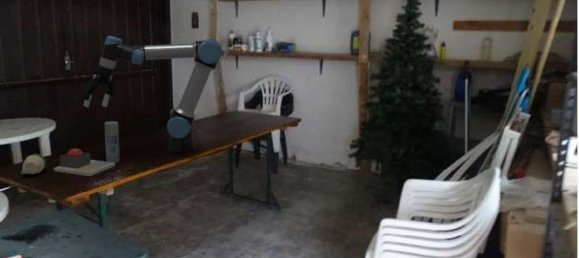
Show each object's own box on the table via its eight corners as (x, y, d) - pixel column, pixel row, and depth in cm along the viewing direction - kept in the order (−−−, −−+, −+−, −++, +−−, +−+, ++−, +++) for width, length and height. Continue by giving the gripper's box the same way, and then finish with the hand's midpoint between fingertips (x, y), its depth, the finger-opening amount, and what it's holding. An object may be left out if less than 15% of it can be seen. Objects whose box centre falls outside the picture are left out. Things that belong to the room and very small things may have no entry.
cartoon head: (21, 185, 217) (39, 170, 236) (39, 174, 217) (55, 160, 236) (9, 169, 215) (27, 155, 234) (27, 158, 214) (44, 145, 234)
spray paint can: (105, 163, 243) (103, 124, 239) (106, 160, 250) (104, 121, 245) (119, 163, 245) (117, 123, 241) (120, 159, 251) (118, 121, 247)
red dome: (86, 161, 237) (85, 147, 235) (76, 165, 230) (75, 150, 229) (74, 160, 239) (73, 146, 237) (64, 163, 232) (63, 149, 231)
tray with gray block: (114, 165, 240) (114, 153, 239) (90, 176, 223) (89, 162, 222) (80, 161, 246) (80, 148, 244) (54, 171, 229) (53, 157, 228)
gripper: (116, 66, 260) (105, 103, 263) (83, 62, 236) (71, 103, 239) (127, 70, 258) (117, 108, 261) (95, 67, 234) (83, 109, 237)
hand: (95, 106), depth 250 cm, fingers open, 13 cm apart
